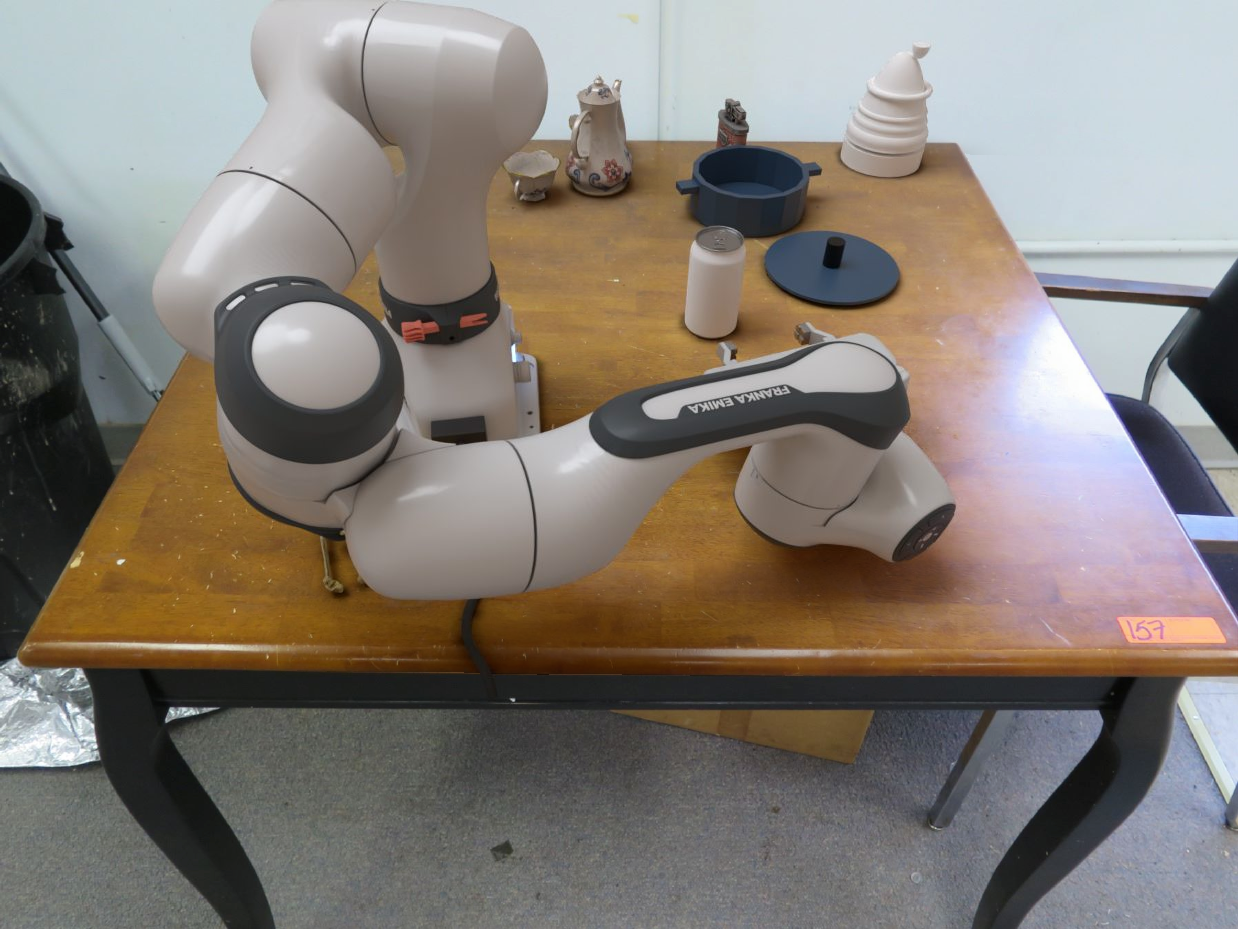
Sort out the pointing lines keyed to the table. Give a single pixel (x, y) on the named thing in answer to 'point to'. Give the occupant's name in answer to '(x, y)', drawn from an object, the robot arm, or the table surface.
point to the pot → (749, 189)
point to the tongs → (328, 582)
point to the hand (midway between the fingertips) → (762, 337)
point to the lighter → (732, 125)
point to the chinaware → (581, 150)
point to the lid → (831, 267)
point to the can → (714, 281)
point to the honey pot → (890, 119)
